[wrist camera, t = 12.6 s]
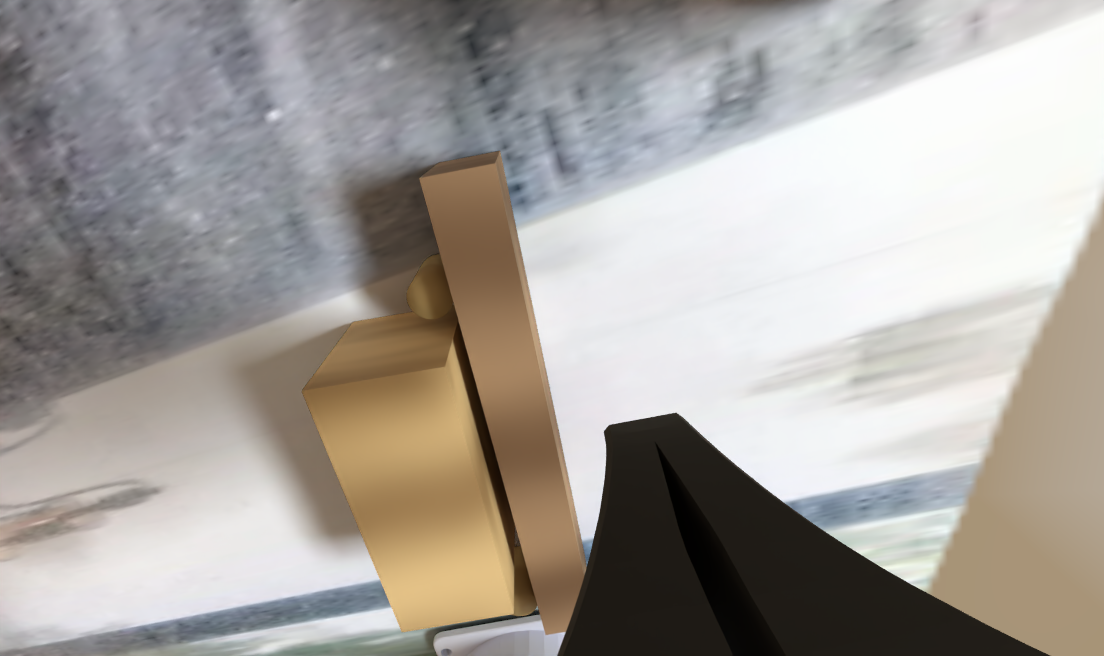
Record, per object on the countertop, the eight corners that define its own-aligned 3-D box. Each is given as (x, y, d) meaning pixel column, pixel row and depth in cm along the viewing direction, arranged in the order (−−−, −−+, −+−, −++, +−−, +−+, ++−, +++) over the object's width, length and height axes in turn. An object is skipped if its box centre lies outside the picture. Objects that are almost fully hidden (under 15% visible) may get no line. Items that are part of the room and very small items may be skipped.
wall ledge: (585, 557, 24) (595, 628, 21) (508, 571, 24) (506, 643, 21) (499, 150, 16) (495, 163, 13) (389, 172, 17) (358, 190, 13)
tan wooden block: (514, 510, 23) (513, 614, 18) (421, 526, 23) (397, 632, 18) (463, 301, 19) (445, 366, 14) (350, 320, 19) (296, 392, 14)
